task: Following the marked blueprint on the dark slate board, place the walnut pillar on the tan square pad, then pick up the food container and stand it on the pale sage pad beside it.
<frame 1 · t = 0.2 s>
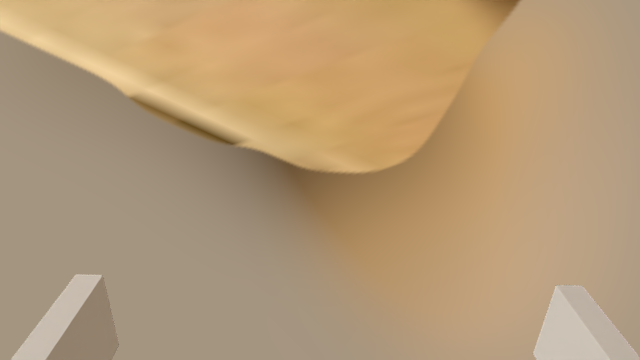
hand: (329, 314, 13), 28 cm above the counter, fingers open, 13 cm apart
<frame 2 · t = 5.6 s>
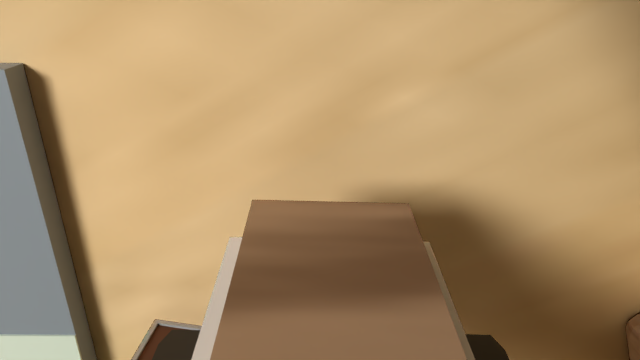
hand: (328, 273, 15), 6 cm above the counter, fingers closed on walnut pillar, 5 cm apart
walnut pillar: (327, 265, 15), point 6 cm above the counter, touching gripper
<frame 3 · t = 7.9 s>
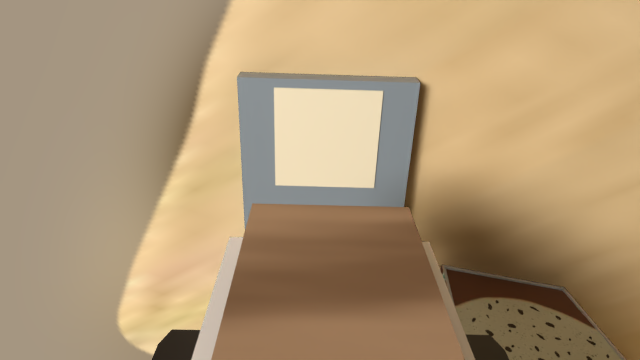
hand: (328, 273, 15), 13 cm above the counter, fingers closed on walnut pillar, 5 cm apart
food container: (486, 306, 33), on the counter
board: (322, 230, 30), on the counter
walnut pillar: (327, 268, 15), point 13 cm above the counter, touching gripper
when the fingers open (2 cm above the counter, at t = 10.1 s): walnut pillar stays where it is, resting on board.
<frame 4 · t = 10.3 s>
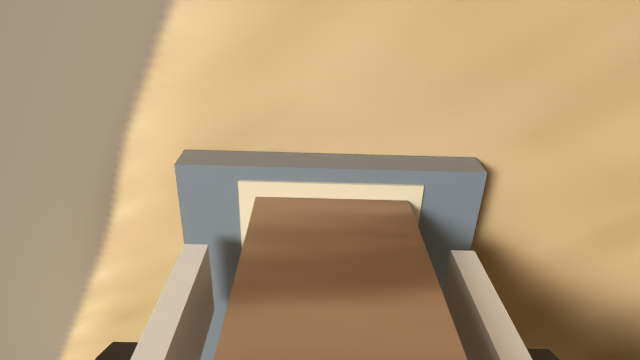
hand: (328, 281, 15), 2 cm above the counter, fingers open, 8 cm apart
walnut pillar: (329, 260, 16), point 1 cm above the counter, touching board
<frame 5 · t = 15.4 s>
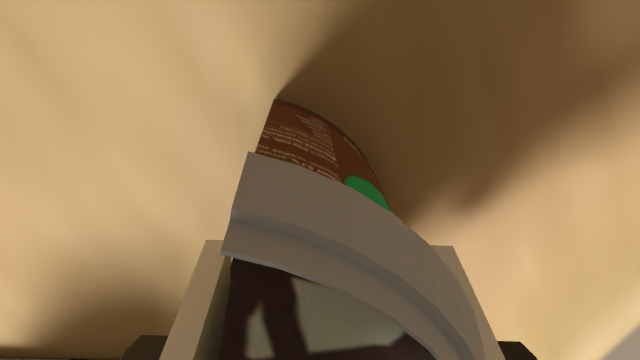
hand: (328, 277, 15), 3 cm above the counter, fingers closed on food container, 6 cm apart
food container: (331, 226, 18), on the counter, touching gripper
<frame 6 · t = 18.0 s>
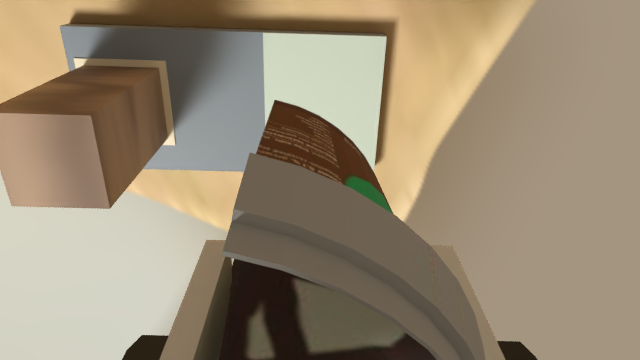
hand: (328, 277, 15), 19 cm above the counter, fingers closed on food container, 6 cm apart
food container: (331, 226, 18), point 16 cm above the counter, touching gripper
board: (231, 101, 32), on the counter
walnut pillar: (127, 103, 31), point 1 cm above the counter, touching board
when the fingers open (5 cm above the counter, at t = 20.8 s): food container stays where it is, resting on board.
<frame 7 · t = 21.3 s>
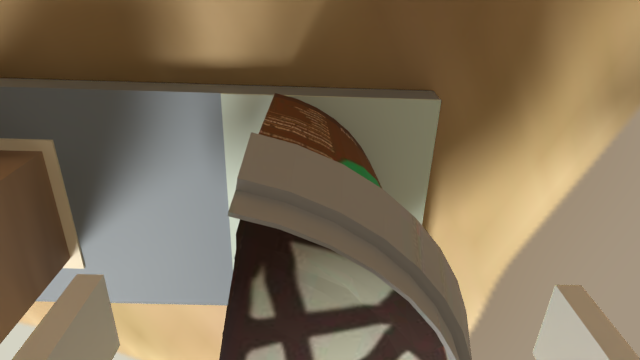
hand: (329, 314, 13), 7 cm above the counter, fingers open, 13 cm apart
food container: (330, 214, 19), point 1 cm above the counter, touching board
board: (176, 196, 19), on the counter
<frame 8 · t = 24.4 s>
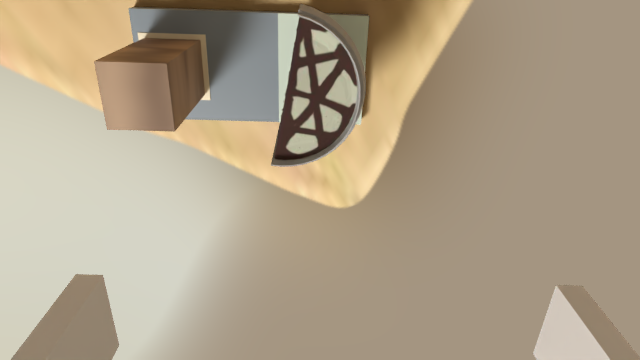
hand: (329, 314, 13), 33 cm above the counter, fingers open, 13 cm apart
food container: (323, 72, 42), point 1 cm above the counter, touching board
board: (253, 66, 42), on the counter
walnut pillar: (175, 67, 41), point 1 cm above the counter, touching board
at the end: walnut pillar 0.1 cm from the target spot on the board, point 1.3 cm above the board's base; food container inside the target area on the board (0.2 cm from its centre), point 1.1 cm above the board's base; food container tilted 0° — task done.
